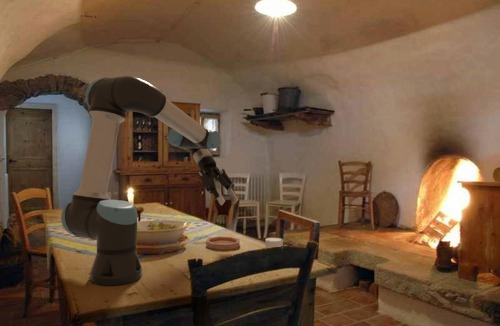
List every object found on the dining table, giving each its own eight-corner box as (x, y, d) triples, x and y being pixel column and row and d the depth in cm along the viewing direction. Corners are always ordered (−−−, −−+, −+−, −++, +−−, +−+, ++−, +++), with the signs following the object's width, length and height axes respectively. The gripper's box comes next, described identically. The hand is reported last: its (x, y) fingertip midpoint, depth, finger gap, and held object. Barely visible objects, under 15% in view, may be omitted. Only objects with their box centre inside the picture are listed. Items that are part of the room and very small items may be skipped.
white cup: (281, 260, 141) (282, 242, 141) (263, 259, 143) (263, 240, 143) (283, 255, 148) (284, 237, 148) (266, 254, 150) (266, 236, 149)
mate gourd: (211, 214, 160) (212, 178, 159) (224, 211, 166) (225, 177, 165) (223, 216, 155) (224, 179, 154) (237, 214, 161) (238, 178, 160)
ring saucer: (219, 252, 151) (219, 246, 151) (199, 244, 161) (199, 239, 161) (246, 246, 160) (246, 241, 160) (225, 239, 171) (225, 235, 171)
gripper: (217, 166, 177) (241, 205, 167) (182, 167, 163) (206, 210, 152) (225, 155, 173) (251, 194, 163) (190, 155, 159) (216, 198, 148)
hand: (229, 202), depth 158 cm, fingers closed on mate gourd, 7 cm apart
